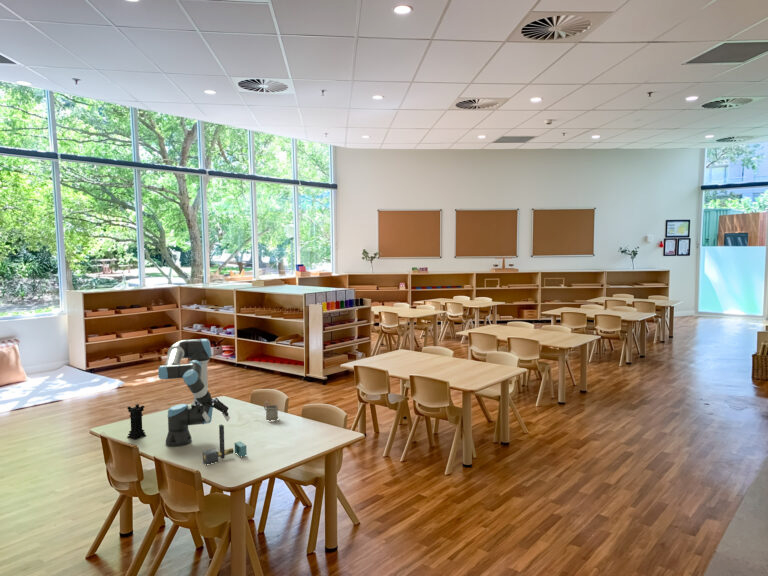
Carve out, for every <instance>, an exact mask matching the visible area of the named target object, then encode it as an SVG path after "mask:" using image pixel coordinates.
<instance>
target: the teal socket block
mask: <svg viewBox="0 0 768 576" xmlns="http://www.w3.org/2000/svg"><path fill="white" fill-rule="evenodd" d="M233 444H234V454H235V453H237V454H238V455H239V456H240V457H239V456H238V455H237V454H236V455H237V456H238V457H239V458H242V457H241V456H245V455H247V454H248V453H247V445H246V444H245V443H244V442H242V441H241V440H240V441H237V442H234V443H233ZM245 457H246V456H245Z"/></svg>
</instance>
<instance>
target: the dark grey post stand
mask: <svg viewBox="0 0 768 576" xmlns="http://www.w3.org/2000/svg"><path fill="white" fill-rule="evenodd" d="M218 429H219V430H218V434H219V451H218V458H221V459H222V460H223V459H225V456H228V455H232V454H235V449H234V448H233V447H231V448H227V449H225V425H223V424H219V425H218ZM203 458H204V461H205V460H206V459H205V455H204V456H203V455H202V459H203Z"/></svg>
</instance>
